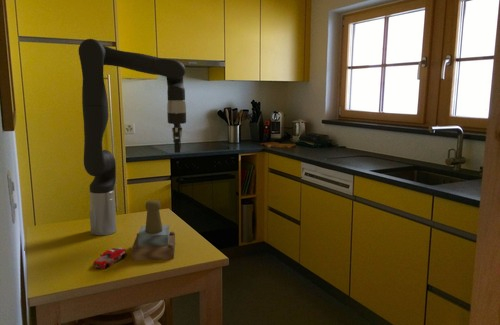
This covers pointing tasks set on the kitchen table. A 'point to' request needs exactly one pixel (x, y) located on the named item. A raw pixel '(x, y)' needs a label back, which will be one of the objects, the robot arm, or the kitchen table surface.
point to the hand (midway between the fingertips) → (177, 150)
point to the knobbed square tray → (154, 245)
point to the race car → (110, 258)
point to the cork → (153, 217)
